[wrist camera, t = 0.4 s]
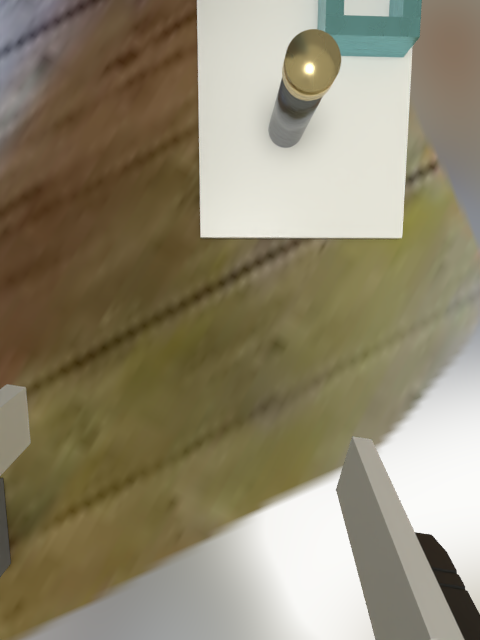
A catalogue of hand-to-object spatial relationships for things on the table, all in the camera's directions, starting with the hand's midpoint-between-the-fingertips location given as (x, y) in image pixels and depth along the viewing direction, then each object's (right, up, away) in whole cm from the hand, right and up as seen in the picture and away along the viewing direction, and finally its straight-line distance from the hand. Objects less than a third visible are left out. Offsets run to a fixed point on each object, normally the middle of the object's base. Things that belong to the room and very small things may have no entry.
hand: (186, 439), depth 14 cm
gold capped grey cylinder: (+7, +25, +22) cm, 34 cm away
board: (+9, +30, +22) cm, 38 cm away
